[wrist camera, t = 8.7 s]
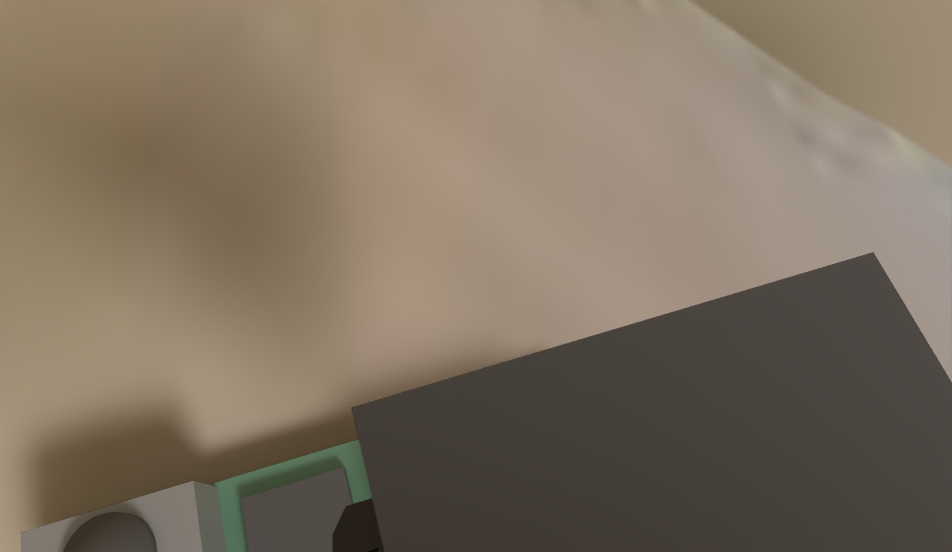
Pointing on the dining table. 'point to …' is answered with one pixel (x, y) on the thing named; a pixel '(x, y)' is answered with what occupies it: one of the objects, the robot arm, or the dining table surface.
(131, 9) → the dining table surface
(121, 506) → the board
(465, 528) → the plug
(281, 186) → the dining table surface
